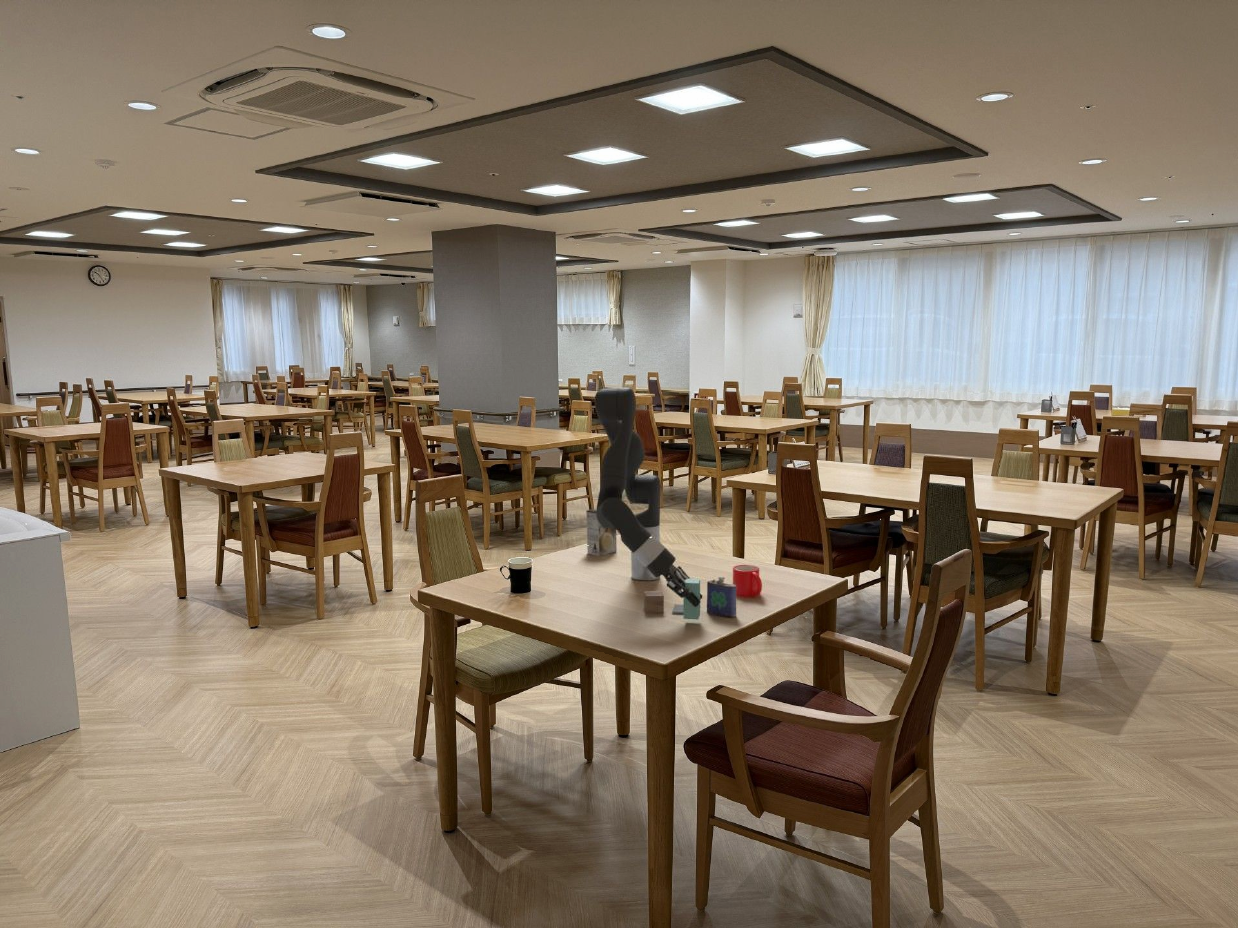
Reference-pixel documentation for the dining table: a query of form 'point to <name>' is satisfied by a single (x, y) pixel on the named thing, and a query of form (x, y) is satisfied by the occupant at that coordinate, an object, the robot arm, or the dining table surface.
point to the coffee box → (599, 536)
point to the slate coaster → (678, 609)
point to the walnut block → (653, 602)
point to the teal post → (688, 608)
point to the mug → (747, 580)
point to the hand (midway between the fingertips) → (699, 601)
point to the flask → (721, 598)
